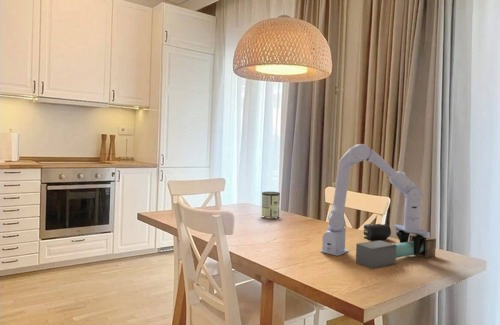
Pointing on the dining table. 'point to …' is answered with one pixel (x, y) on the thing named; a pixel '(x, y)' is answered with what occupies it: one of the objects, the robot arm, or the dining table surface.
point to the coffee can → (270, 204)
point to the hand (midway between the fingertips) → (410, 252)
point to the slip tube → (407, 249)
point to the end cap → (377, 231)
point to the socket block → (427, 247)
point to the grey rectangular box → (375, 254)
